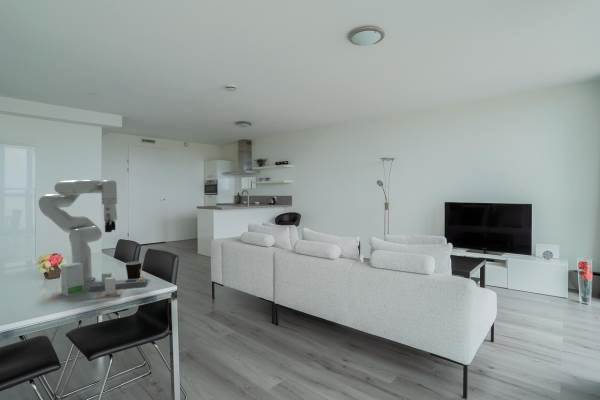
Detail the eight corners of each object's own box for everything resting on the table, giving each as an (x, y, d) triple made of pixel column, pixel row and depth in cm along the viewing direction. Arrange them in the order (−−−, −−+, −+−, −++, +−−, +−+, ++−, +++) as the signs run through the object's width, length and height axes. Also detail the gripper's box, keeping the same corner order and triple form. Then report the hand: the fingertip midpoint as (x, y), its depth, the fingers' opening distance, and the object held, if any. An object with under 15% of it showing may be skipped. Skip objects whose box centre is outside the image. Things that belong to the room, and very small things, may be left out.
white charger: (105, 294, 162) (104, 279, 162) (106, 292, 165) (106, 277, 165) (114, 293, 164) (113, 278, 163) (115, 292, 167) (114, 276, 166)
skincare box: (66, 297, 161) (65, 266, 161) (60, 294, 165) (59, 265, 164) (84, 292, 168) (83, 263, 168) (78, 290, 172) (77, 261, 171)
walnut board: (95, 299, 157) (94, 298, 157) (100, 292, 168) (100, 291, 168) (120, 296, 161) (120, 295, 161) (124, 290, 171) (124, 289, 171)
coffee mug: (135, 281, 187) (134, 265, 187) (122, 281, 189) (122, 264, 188) (148, 276, 198) (148, 260, 198) (136, 275, 200) (136, 260, 200)
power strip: (90, 292, 168) (89, 285, 168) (94, 287, 176) (94, 281, 176) (144, 286, 177) (144, 280, 177) (146, 282, 184) (145, 276, 184)
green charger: (102, 289, 172) (101, 274, 172) (103, 287, 175) (103, 272, 175) (110, 288, 173) (110, 273, 173) (111, 286, 177) (111, 272, 176)
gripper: (113, 202, 177) (114, 232, 178) (119, 201, 193) (120, 229, 194) (98, 202, 175) (99, 233, 175) (105, 201, 191) (106, 229, 192)
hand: (110, 231), depth 185 cm, fingers open, 9 cm apart
